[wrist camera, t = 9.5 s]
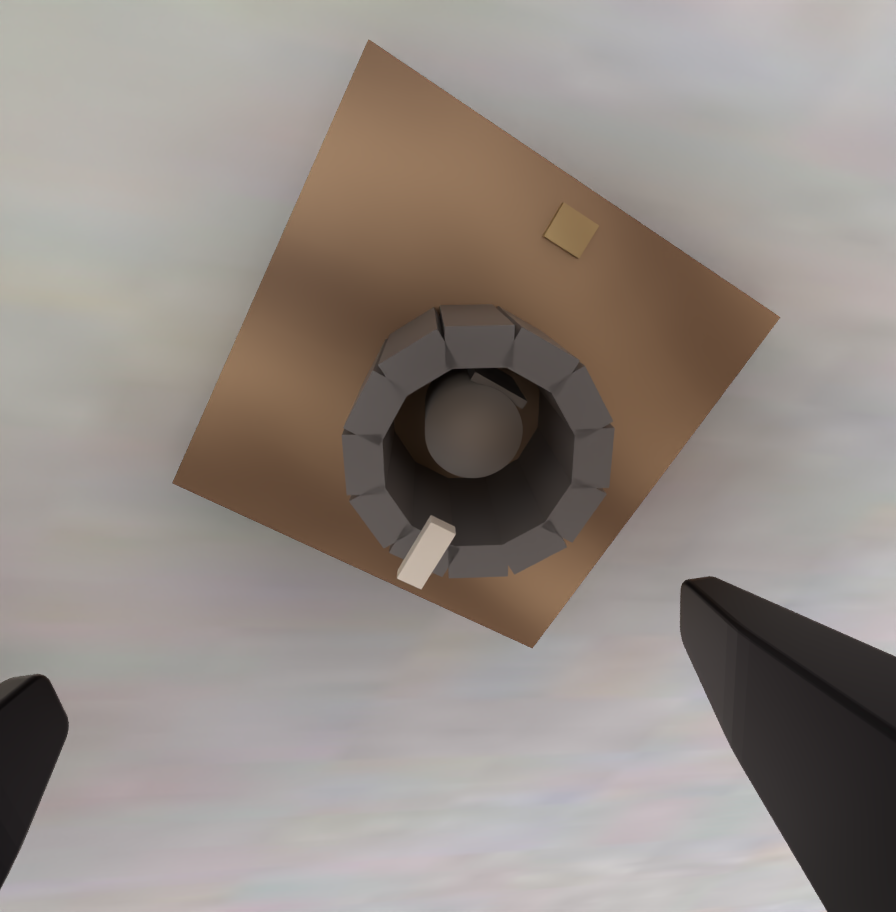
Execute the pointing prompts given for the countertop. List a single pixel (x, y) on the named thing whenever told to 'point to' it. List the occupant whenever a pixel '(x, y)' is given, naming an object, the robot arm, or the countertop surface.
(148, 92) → the countertop surface
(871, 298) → the countertop surface
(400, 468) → the gray faceted pot
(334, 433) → the square brown plate
